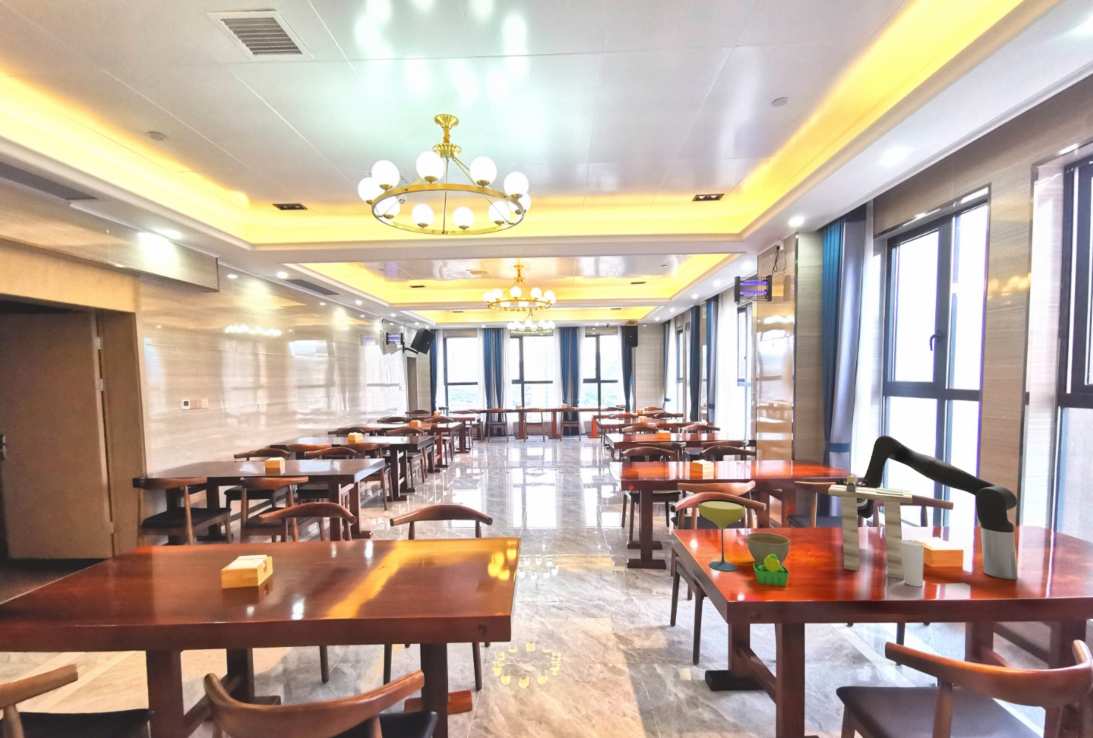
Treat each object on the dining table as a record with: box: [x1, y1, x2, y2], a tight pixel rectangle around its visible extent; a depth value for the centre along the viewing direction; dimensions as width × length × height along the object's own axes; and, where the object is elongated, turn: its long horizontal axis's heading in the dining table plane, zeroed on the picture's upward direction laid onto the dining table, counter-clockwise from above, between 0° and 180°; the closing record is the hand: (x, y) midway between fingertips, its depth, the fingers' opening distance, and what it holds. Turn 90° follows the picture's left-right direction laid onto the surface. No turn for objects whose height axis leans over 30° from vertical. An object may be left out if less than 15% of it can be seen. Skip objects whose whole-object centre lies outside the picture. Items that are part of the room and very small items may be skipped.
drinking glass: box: [900, 539, 925, 588], centre depth 169 cm, size 7×7×15 cm
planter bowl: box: [745, 532, 790, 566], centre depth 190 cm, size 16×16×11 cm
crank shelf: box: [827, 484, 913, 580], centre depth 179 cm, size 14×26×32 cm, turn 53°
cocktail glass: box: [697, 499, 746, 572], centre depth 189 cm, size 18×18×25 cm
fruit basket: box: [752, 554, 790, 587], centre depth 172 cm, size 11×9×11 cm
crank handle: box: [846, 475, 860, 492], centre depth 188 cm, size 22×3×6 cm, turn 143°
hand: (854, 481), depth 195 cm, fingers open, 8 cm apart
